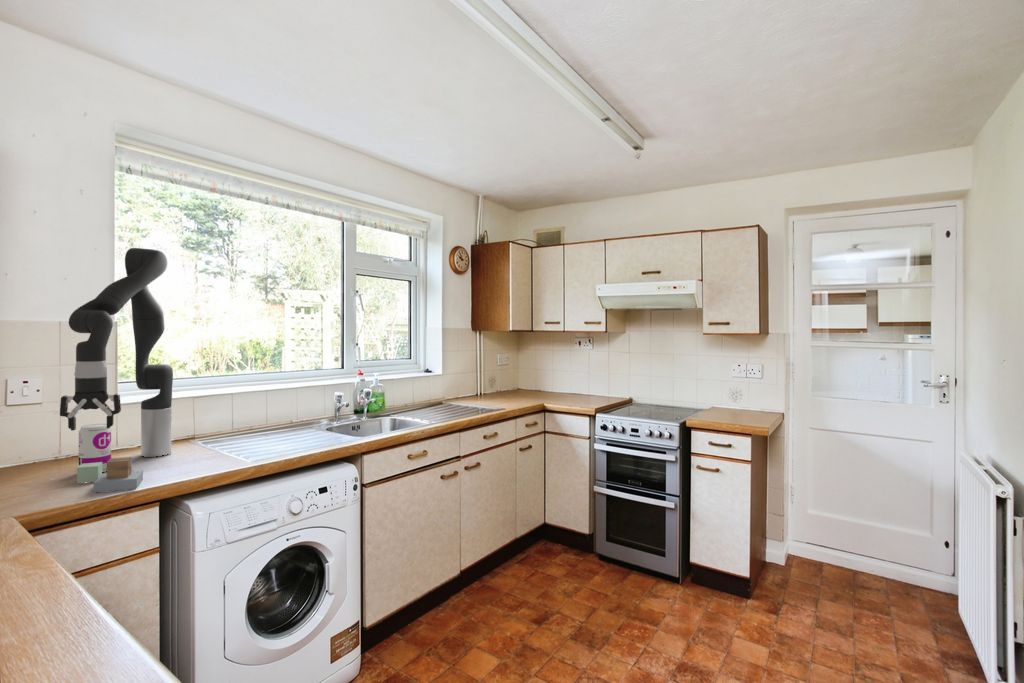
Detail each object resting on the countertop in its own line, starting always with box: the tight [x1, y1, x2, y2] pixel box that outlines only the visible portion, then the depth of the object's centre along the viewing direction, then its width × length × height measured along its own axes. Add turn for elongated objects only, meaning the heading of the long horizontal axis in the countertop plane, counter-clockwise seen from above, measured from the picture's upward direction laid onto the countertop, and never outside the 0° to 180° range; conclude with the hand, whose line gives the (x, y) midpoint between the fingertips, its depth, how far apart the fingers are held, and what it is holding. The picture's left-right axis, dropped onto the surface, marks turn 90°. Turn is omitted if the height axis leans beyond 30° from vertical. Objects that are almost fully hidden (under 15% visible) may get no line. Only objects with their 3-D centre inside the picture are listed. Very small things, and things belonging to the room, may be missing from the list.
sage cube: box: [76, 462, 103, 484], centre depth 157 cm, size 5×5×5 cm
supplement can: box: [78, 423, 112, 473], centre depth 166 cm, size 8×8×15 cm
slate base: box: [93, 469, 144, 494], centre depth 152 cm, size 10×10×3 cm
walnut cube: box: [106, 456, 132, 479], centre depth 152 cm, size 5×5×5 cm
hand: (91, 428), depth 157 cm, fingers open, 8 cm apart
